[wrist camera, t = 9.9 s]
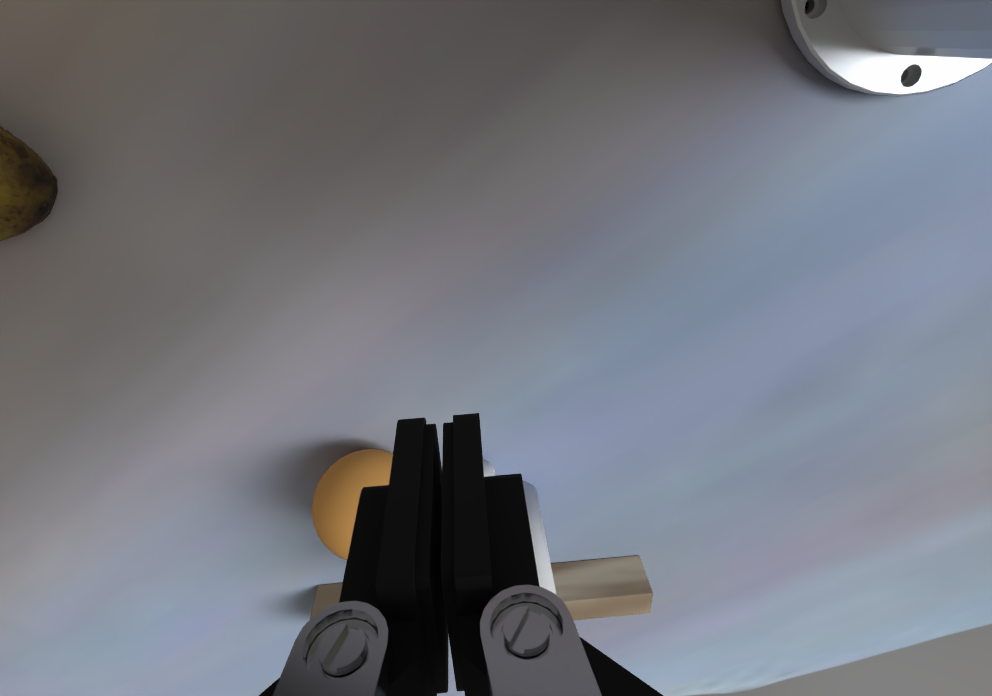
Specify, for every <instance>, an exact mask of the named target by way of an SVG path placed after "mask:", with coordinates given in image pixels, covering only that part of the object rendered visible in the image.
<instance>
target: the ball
mask: <svg viewBox="0 0 992 696" xmlns="http://www.w3.org/2000/svg"><path fill="white" fill-rule="evenodd" d="M392 458H393V453H390V452H388V451H384V450H377V449H365V450H359V451H356V452H353V453H350V454H348V455H346V456H344V457H342V458H340V459H339V460H337V461H336V462H335V463H334V464H332V465H331V466H330V467H329V468H328V470H327V471H326V472H325V473H324V474H323V476H322V477H321V479H320V481H319V483H318V485H317V487H316V490H315V493H314V497H313V502H312V516H313V522H314V526H315V529H316V531H317V534H318V536H319V537H320V539H321V541H322V542H323V543H324V544H325V546H326V547H327V548H328V549H329V550H330V551H332V552H333V553H334V554H336V555H338V556H339V557H341V558H343V559H346V560H347V559H348V554H349V549H350V544H351V538H352V533H353V528H354V523H355V518H356V513H357V508H358V503H359V498H360V494H361V490H362V489H363V487H371V486H383V485H389V480H390V473H391V466H392Z"/></svg>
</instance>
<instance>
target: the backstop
mask: <svg viewBox="0 0 992 696" xmlns="http://www.w3.org/2000/svg"><path fill="white" fill-rule="evenodd" d="M551 568H552V574H553V579H554V584H555V590H556V595H557V596H558V597H559V598H560V599H561V600H562V601H563V602H564V603H565V605H566V606H567V608H568V610H569V612H570V613H571V616H572V618H573V620H582V619H592V618H603V617H613V616H623V615H634V614H644V613H650V611H651V603H652V596H653V592H652V589H651V587H650V584H649V581H648V578H647V576H646V573H645V570H644V567H643V564H642V562H641V559H640V556H628V557H617V558H606V559H595V560H585V561H574V562H563V563H552V564H551ZM342 584H343V583H336V584H325V585H318V588H317V592H316V596H315V600H314V604H313V608H312V613H311V617H310V619H311V618H312V617H313V616H314V615H316V614H317V613H319V612H320V611H322V610H323V609H325V608H327V607H329V606H332V605H334V604H337V603H339V600H340V595H341V589H342Z"/></svg>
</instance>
